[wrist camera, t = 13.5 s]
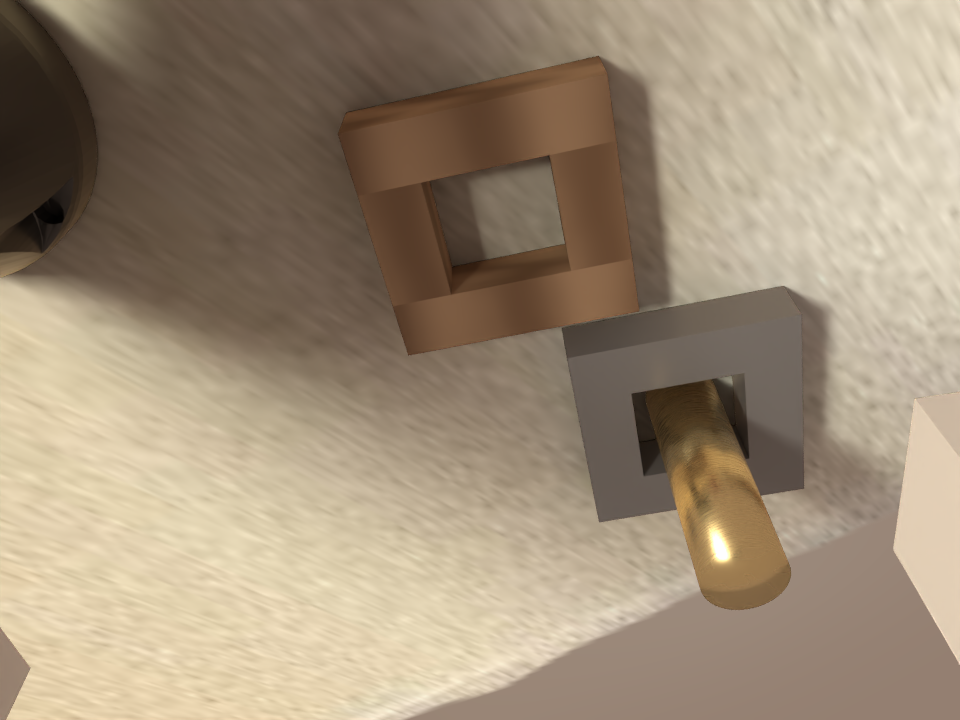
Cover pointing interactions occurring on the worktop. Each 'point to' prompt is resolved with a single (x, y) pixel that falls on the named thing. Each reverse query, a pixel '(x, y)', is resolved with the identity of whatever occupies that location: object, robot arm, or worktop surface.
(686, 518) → the lock pin
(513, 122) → the brown wooden square frame
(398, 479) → the worktop surface
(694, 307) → the plate
